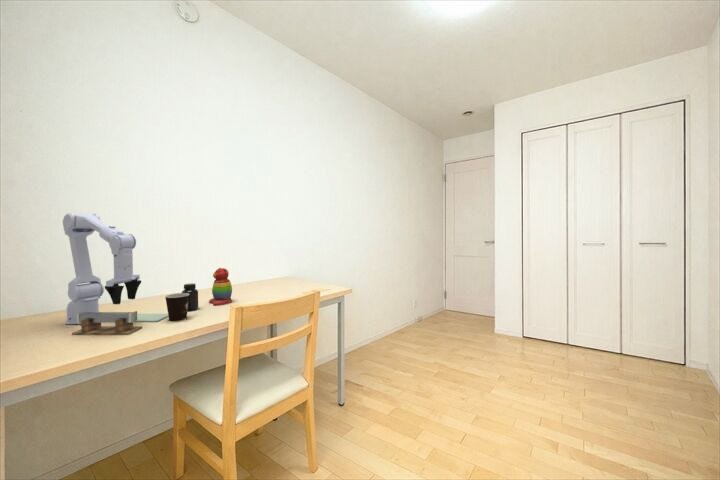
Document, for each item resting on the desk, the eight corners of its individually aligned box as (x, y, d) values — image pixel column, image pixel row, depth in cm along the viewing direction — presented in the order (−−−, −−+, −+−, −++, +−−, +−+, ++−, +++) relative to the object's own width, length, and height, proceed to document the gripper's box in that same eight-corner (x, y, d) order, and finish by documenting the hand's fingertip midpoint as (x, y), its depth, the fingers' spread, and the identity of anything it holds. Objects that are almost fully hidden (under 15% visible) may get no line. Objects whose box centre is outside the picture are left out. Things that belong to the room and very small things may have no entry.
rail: (77, 322, 110) (76, 313, 110) (85, 320, 114) (85, 311, 113) (130, 322, 111) (130, 313, 110) (137, 319, 114) (137, 311, 114)
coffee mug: (178, 322, 123) (178, 298, 123) (160, 321, 125) (160, 297, 124) (199, 314, 134) (198, 292, 134) (182, 313, 136) (182, 291, 136)
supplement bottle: (201, 308, 143) (200, 283, 143) (186, 312, 138) (186, 286, 137) (193, 306, 147) (192, 282, 147) (178, 310, 141) (178, 284, 141)
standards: (71, 334, 109) (71, 320, 108) (89, 328, 116) (88, 314, 115) (128, 334, 109) (127, 320, 109) (142, 328, 116) (141, 314, 116)
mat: (102, 322, 123) (102, 320, 123) (121, 315, 133) (121, 313, 133) (157, 322, 123) (157, 320, 123) (172, 315, 133) (172, 313, 133)
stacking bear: (207, 302, 156) (207, 267, 155) (228, 299, 163) (227, 266, 162) (214, 306, 148) (214, 270, 147) (235, 302, 155) (235, 268, 154)
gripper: (119, 268, 108) (120, 306, 109) (146, 263, 123) (147, 297, 123) (99, 268, 108) (100, 306, 109) (129, 263, 122) (129, 297, 123)
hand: (124, 301), depth 116 cm, fingers open, 7 cm apart
